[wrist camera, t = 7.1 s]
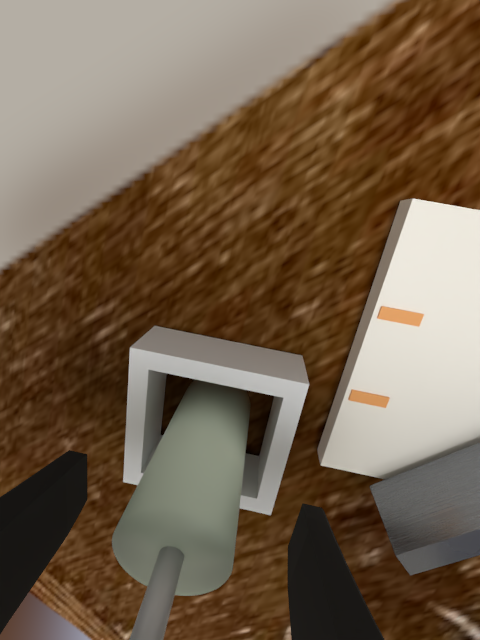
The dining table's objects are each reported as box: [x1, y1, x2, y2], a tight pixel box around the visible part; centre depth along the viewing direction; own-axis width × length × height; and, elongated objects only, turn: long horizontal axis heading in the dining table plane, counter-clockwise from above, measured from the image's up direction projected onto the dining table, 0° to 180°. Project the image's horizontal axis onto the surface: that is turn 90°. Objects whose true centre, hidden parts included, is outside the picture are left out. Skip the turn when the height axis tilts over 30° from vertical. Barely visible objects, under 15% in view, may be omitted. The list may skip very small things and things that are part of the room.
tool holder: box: [123, 326, 309, 515], centre depth 13 cm, size 7×7×2 cm
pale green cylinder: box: [112, 379, 251, 640], centre depth 10 cm, size 3×3×9 cm
